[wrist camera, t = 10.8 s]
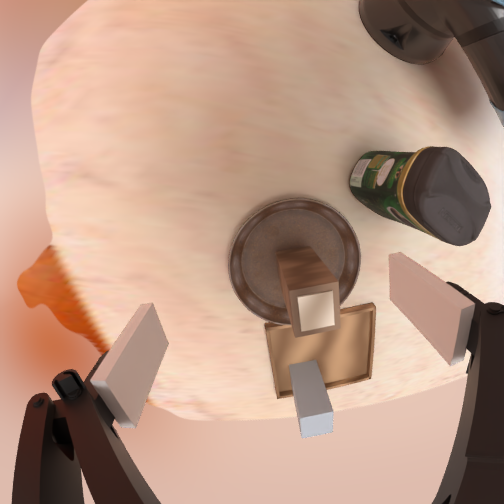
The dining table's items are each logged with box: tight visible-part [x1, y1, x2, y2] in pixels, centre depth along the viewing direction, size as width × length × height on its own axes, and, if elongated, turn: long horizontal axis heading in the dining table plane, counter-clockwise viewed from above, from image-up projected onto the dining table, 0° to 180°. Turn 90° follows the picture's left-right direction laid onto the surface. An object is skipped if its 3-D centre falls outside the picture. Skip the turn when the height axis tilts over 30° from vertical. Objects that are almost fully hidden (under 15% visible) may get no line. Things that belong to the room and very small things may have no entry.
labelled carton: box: [275, 246, 341, 338], centre depth 31 cm, size 4×5×12 cm
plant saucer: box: [228, 198, 361, 325], centre depth 39 cm, size 18×18×3 cm
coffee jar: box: [350, 146, 491, 246], centre depth 28 cm, size 10×8×19 cm
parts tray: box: [265, 303, 376, 399], centre depth 44 cm, size 17×15×2 cm
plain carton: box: [289, 360, 333, 438], centre depth 39 cm, size 4×5×12 cm
